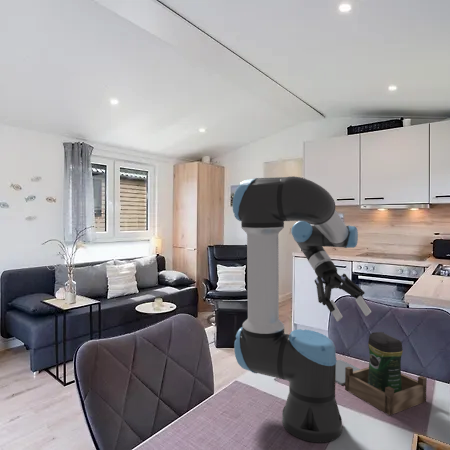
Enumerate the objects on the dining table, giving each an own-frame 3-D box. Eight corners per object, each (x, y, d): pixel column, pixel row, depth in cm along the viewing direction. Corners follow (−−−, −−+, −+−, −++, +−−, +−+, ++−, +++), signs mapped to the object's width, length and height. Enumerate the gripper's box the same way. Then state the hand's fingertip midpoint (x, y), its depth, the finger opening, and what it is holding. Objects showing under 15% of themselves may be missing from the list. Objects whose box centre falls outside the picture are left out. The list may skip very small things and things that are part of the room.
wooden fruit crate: (389, 415, 94) (390, 390, 94) (345, 389, 109) (345, 367, 108) (426, 401, 102) (426, 378, 101) (379, 378, 116) (380, 358, 116)
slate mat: (341, 385, 111) (341, 383, 111) (311, 368, 124) (311, 366, 124) (371, 376, 118) (371, 374, 118) (340, 361, 130) (340, 359, 130)
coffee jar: (407, 402, 101) (408, 339, 101) (383, 405, 100) (384, 341, 99) (385, 386, 111) (386, 329, 110) (363, 388, 109) (364, 330, 109)
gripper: (341, 270, 137) (373, 317, 124) (292, 274, 125) (320, 327, 112) (352, 258, 132) (386, 306, 119) (301, 261, 120) (333, 315, 107)
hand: (354, 316), depth 116 cm, fingers open, 13 cm apart
